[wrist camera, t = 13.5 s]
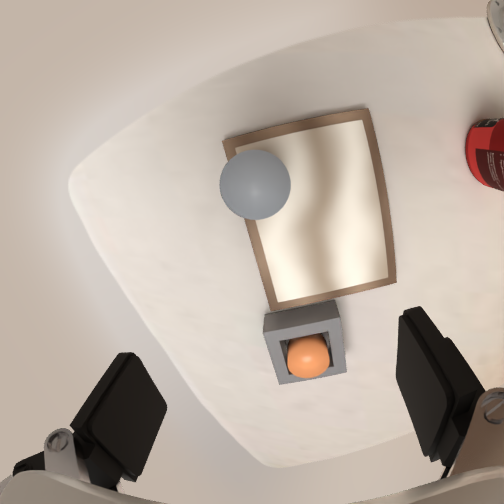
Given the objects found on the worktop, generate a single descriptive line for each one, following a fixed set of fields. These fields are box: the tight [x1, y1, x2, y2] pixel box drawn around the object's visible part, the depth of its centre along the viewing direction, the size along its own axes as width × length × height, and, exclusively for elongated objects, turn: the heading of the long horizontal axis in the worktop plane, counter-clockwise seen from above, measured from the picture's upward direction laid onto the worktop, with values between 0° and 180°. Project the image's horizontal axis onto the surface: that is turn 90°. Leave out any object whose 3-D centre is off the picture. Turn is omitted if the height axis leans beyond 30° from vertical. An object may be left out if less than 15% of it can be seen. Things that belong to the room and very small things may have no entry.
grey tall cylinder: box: [220, 150, 291, 220], centre depth 20 cm, size 4×4×11 cm
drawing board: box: [222, 108, 397, 311], centre depth 27 cm, size 14×18×1 cm
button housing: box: [263, 300, 347, 385], centre depth 31 cm, size 8×8×4 cm
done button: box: [287, 333, 330, 378], centre depth 29 cm, size 4×4×3 cm
